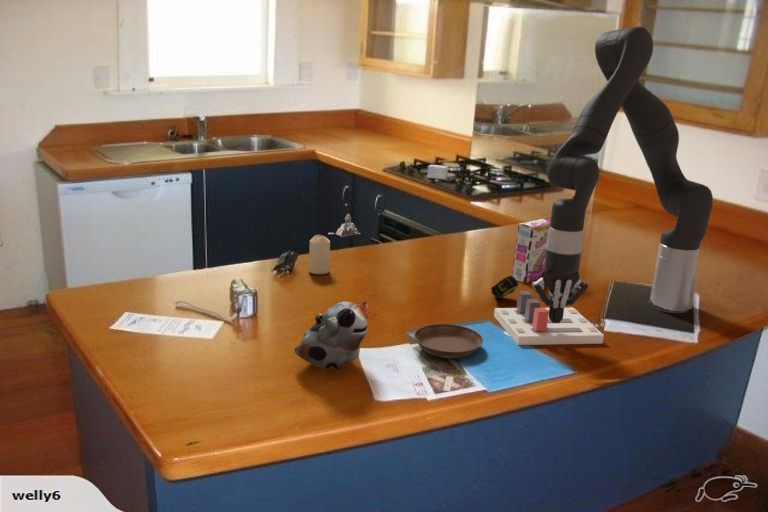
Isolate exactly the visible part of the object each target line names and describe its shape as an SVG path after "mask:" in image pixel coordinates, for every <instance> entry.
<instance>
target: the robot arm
mask: <svg viewBox="0 0 768 512" xmlns="http://www.w3.org/2000/svg"><path fill="white" fill-rule="evenodd" d="M652 37H653V36H652V35H651V33H650V32H649V30H647V28H645V27H642V26H631V27H625V28H620V29H615V30H610V31H607V32H603V33H602V34H600V35H599V36H598V37H597V38H596V42H595V45H594V53H595V59H596V62H597V65H598V67H599V69H600V70H601V73H602V74H603V76H604V78H605V79H606V81H607V82H606V83H605V84H604V85H603V86H602V87H601V88H600V89H599V90H598V91H597V92H596V94H594V95H593V96H592V97H591V98H590V99H589V101H588V102H587V103H586V104H585V106H584V108H583V109H582V110H581V112H580V114H579V116H578V118H577V120H576V123H575V126H574V127H573V130H572V132H571V134H570V136H569V137H568V138H567V139H566V140H565V142H564V143H562V145H561V146H560V148H559V149H558V150H557V151H556V153H555V154H554V155H553V156H552V158H551V159H550V161H549V164H548V165H547V171H546V176H547V180H548V182H549V183H550V185H552V186H553V187H556V188H560V189H565V190H572V191H575V193H574V195H573V196H572V198H560V199H559V198H558V199H556V200H555V201H554V202H552V207H551V211H550V212H551V213H550V220H549V221H550V228H549V232H548V237H547V245H546V254H545V263H544V271H543V273H542V275H541V278H538V279H536V281H535V280H533V281H530V282H531V283H530V285H531V287H532V288H533V290H534V292H535V293H536V294H537V296H538V298H540V300H541V301H542V303H544V304H545V305H546V306H548V308H549V319H550V320H551V322H552V323H560V321H562V319H563V313H564V308H566V306H567V307H568V306H573V305H574V304H575V302H576V301H577V300H578V299H579V298H580V297H581V296H582V295H583V294H584V293H585V291H586V290H587V289H588V287H589V285H588V283H586V281H584V280H582V279H581V277H580V273H579V270H580V266H581V259H582V249H583V243H584V233H583V232H584V226H585V217H586V212H587V210H588V209H587V208H588V205H589V203H590V200H591V197H592V195H593V192H594V190H595V188H596V187H597V183H598V181H599V178H600V167H599V165H598V163H597V162H596V160H594V159H592V158H589V157H583V156H588V155H596V154H597V153H599V152H600V151H601V150H602V148H603V146H604V144H605V143H606V142H605V141H606V139H607V137H608V136H609V135H608V134H609V132H610V131H611V128H612V125H613V123H614V121H615V118H616V116H617V114H618V113H619V111H620V109H622V111H623V112H624V115H625V117H626V119H627V121H628V123H629V127H630V129H631V131H632V134H633V136H634V138H635V140H636V143H637V145H638V147H639V149H640V150H641V152H642V156H643V157H644V160H645V163H646V165H647V167H648V169H649V171H650V174H651V177H652V180H653V183H654V186H655V190H656V193H657V196H658V200H659V202H660V205H661V207H662V208H663V210H664V211H665V212H666V213H668V214H669V215H671V216H673V217H677V219H676V223H675V226H674V228H673V229H672V228H671V229H665V230H663V231H662V233H661V236H660V240H659V246H658V253H657V256H656V257H657V258H656V263H655V267H654V268H655V270H654V275H653V281H652V285H651V286H652V287H651V292H650V298H649V301H650V300H651V302H652V303H653V304H654V305H657V306H659V307H662V308H664V309H668V310H671V311H685V310H687V309H691V310H692V308H693V302H694V296H695V293H696V292H695V291H696V287H697V282H698V278H697V277H696V276H695V272H696V269H697V268H696V267H697V262H698V257H699V251H700V246H701V244H702V243H701V242H702V241H703V239H704V237H705V236H706V233H707V229H708V226H709V225H708V224H709V221H710V216H711V214H712V209H713V204H714V203H713V201H714V199H713V197H714V196H713V193H712V190H711V189H710V187H708V186H707V185H705V184H702V183H699V182H696V181H692V180H690V179H689V180H688V179H687V178H686V177H685V175H684V173H683V172H682V170H681V167H680V164H679V162H678V159H677V153H678V149H679V142H680V135H679V134H680V133H679V129H678V127H677V124H676V122H675V120H674V117H673V115H672V112H671V111H670V108H669V107H668V105H666V104H665V103H664V101H662V99H660V98H659V97H658V96H656V95H655V94H654V93H653V92H652V91H650V90H649V89H648V88H646V86H644V85H643V83H641V82H640V80H639V79H640V77H641V76H642V74H643V73H644V72H645V70H646V68H647V66H648V65H649V63H650V60H651V58H652V56H653V52H654V43H653V42H654V41H653V38H652ZM545 287H546V288H547V289H548V296H549V297H548V296H547V294H546V293H545V291H544V289H545Z"/></svg>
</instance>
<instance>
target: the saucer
mask: <svg viewBox="0 0 768 512" xmlns="http://www.w3.org/2000/svg"><path fill="white" fill-rule="evenodd" d="M413 337H414V340H415V342H416V343H417V344H418V346H419V347H420V348H421V349H422V350H423V351H425V352H426V353H427V354H429V355H432V356H435V357H439V358H443V359H461V358H465V357H468V356H469V355H471V354H473V353H475V352H476V351H477V350H478V349H480V347H481V346H482V345H483V343H484V338H483V336H482V335H481V334H480V332H477V331H475V330H474V329H472V328H469V327H466V326H463V325H457V324H449V323H448V324H447V323H435V324H428V325H424V326H422V327H419V328H418V329H416V330H415V332H414V334H413Z"/></svg>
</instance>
